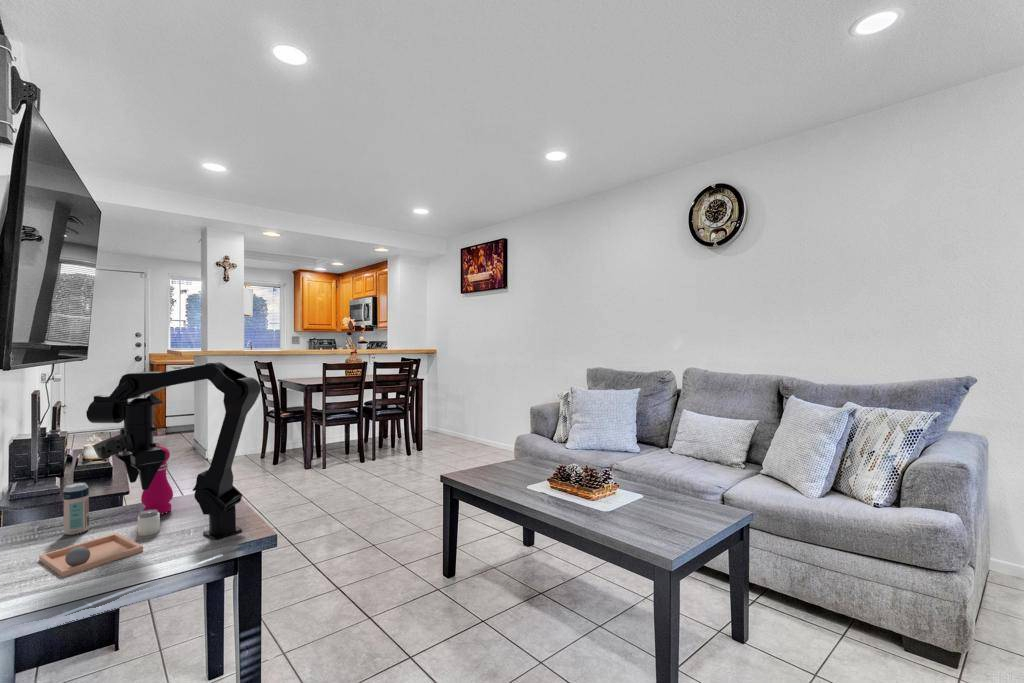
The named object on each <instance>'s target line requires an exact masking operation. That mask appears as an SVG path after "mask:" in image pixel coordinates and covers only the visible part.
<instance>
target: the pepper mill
mask: <svg viewBox="0 0 1024 683" xmlns="http://www.w3.org/2000/svg"><path fill="white" fill-rule="evenodd" d="M153 442H154V443H156V447H158V448H160V449H162V450H164V451H165V452H166V460H165V461H164V463H162V464H161V466H160V468H159V470H158V471H157V473H156V475H155V477H154V479H153V481H152V482H151V484H150V486H149V488H148V489H147V490H142V493H141V499H140V501H141V504H142V505H144V506H145V507H144V508H143V511H146V510H152V509H156V510H158V512H159V513H160V514H162V513H166V512H168V511H170V510H171V511H172V504H171V500H172V499H173V498H174V490H173V488H172V486H171V484H170V483H169V481H168V478H167V469H168V468H169V466H168V465H169V464H168V462H167V461H168V460H169V459H170V457H171V454H170V450H169V449H168V448H167V447H165V446H161V441H159V440H156V441H153ZM153 448H155V447H153ZM171 511H170V512H171ZM168 513H169V512H168ZM166 514H167V513H166Z"/></svg>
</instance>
